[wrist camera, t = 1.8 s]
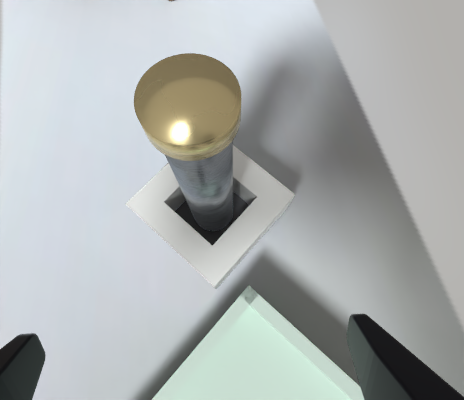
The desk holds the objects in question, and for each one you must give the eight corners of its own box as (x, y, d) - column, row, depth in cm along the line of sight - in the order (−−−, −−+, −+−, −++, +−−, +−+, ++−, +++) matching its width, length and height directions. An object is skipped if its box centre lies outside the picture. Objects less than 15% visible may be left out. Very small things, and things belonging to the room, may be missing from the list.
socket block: (216, 289, 22) (213, 287, 19) (138, 215, 24) (125, 203, 21) (288, 207, 24) (295, 194, 21) (210, 144, 26) (207, 124, 23)
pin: (214, 245, 23) (188, 166, 10) (179, 213, 24) (111, 100, 11) (246, 209, 24) (263, 92, 11) (212, 180, 25) (186, 37, 11)
